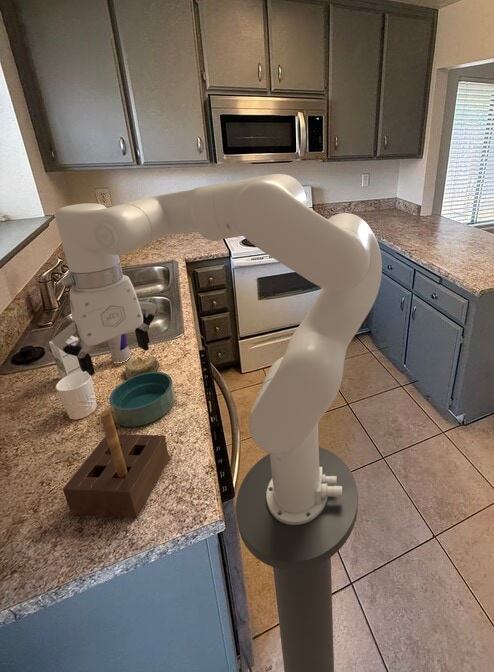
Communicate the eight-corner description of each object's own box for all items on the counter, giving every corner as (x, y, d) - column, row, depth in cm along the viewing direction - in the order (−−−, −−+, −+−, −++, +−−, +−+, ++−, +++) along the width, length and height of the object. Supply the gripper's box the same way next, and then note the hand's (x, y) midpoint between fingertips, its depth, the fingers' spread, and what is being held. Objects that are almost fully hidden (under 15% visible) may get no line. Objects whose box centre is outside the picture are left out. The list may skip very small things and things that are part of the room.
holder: (169, 458, 83) (164, 435, 81) (136, 518, 70) (129, 492, 68) (113, 456, 84) (107, 433, 82) (71, 514, 71) (62, 489, 69)
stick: (135, 493, 75) (112, 409, 68) (130, 501, 73) (106, 416, 66) (127, 492, 75) (103, 409, 68) (122, 501, 74) (97, 416, 66)
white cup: (67, 426, 93) (57, 395, 90) (64, 409, 99) (54, 379, 96) (101, 411, 98) (93, 381, 95) (97, 396, 104) (88, 367, 101)
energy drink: (134, 357, 122) (127, 326, 118) (122, 366, 117) (114, 335, 113) (122, 355, 124) (115, 324, 120) (109, 364, 119) (101, 332, 115)
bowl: (184, 389, 106) (181, 372, 104) (158, 429, 92) (154, 410, 90) (135, 388, 107) (131, 371, 105) (101, 427, 93) (96, 409, 91)
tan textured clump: (159, 377, 113) (155, 363, 110) (123, 385, 109) (119, 371, 107) (160, 357, 121) (156, 344, 119) (127, 365, 118) (123, 352, 116)
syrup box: (90, 376, 113) (79, 336, 108) (70, 387, 108) (57, 346, 103) (80, 371, 115) (69, 332, 111) (60, 382, 111) (47, 341, 106)
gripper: (44, 298, 53) (72, 392, 59) (156, 266, 66) (171, 345, 72) (30, 286, 58) (58, 374, 63) (138, 258, 70) (153, 334, 76)
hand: (118, 359), depth 67 cm, fingers open, 9 cm apart
